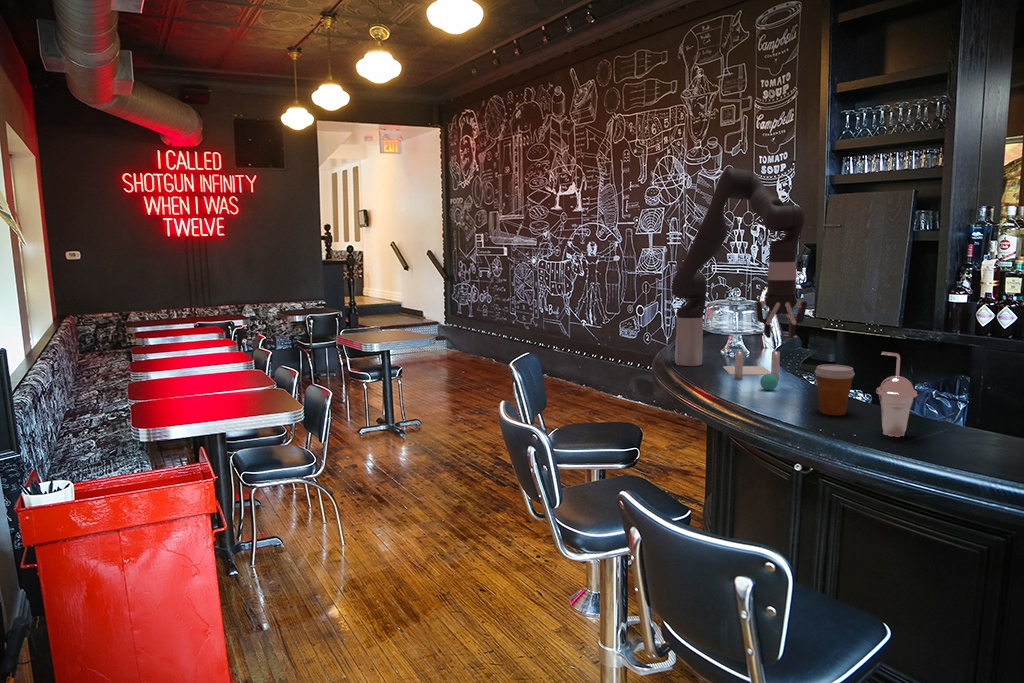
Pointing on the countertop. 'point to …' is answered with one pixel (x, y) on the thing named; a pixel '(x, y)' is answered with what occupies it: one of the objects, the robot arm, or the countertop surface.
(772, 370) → the post
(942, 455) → the countertop surface
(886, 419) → the cup with straw
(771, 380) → the ball
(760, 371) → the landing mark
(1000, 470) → the countertop surface
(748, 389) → the countertop surface
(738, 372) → the post
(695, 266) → the robot arm
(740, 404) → the countertop surface
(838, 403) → the disposable coffee cup
